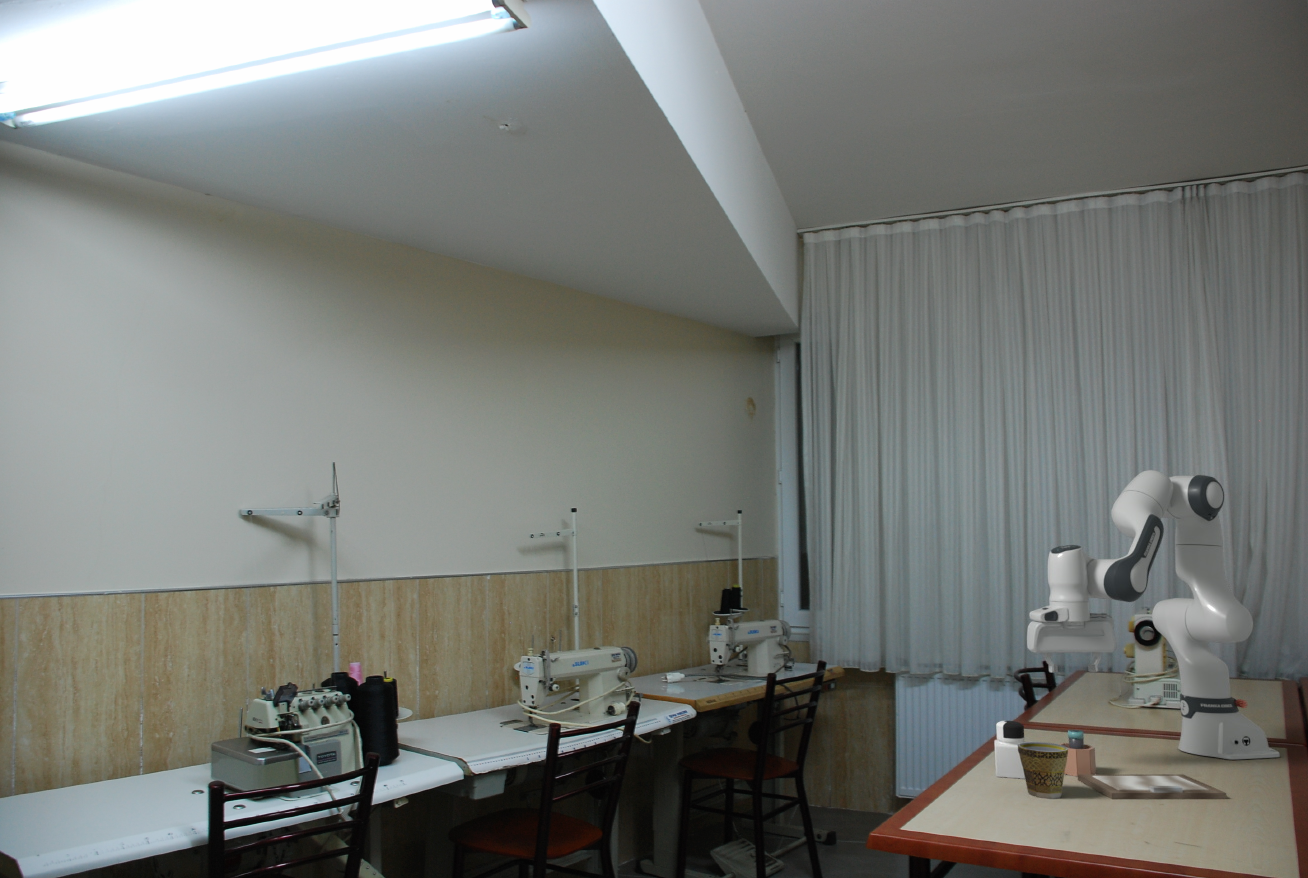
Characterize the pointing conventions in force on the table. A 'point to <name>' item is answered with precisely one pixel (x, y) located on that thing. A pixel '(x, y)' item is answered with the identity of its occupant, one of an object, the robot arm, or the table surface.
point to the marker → (1076, 739)
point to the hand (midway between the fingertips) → (1073, 672)
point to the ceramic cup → (1043, 768)
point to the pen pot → (1080, 761)
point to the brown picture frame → (1151, 787)
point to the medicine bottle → (1009, 749)
